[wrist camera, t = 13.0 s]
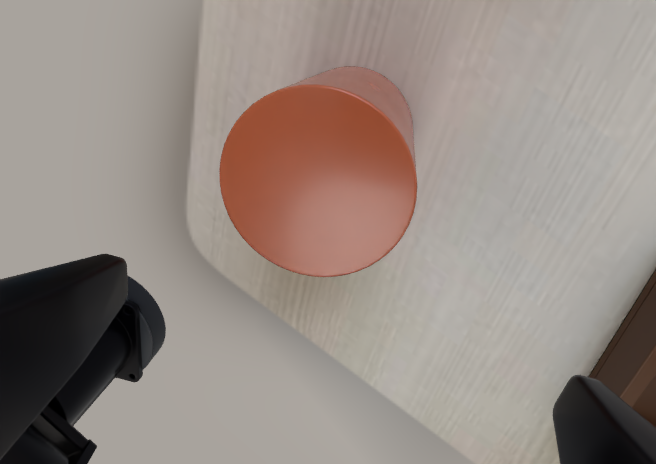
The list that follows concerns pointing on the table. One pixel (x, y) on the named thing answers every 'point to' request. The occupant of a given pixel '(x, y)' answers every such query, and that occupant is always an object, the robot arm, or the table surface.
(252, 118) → the terracotta tin
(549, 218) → the table surface
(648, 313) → the walnut tray
